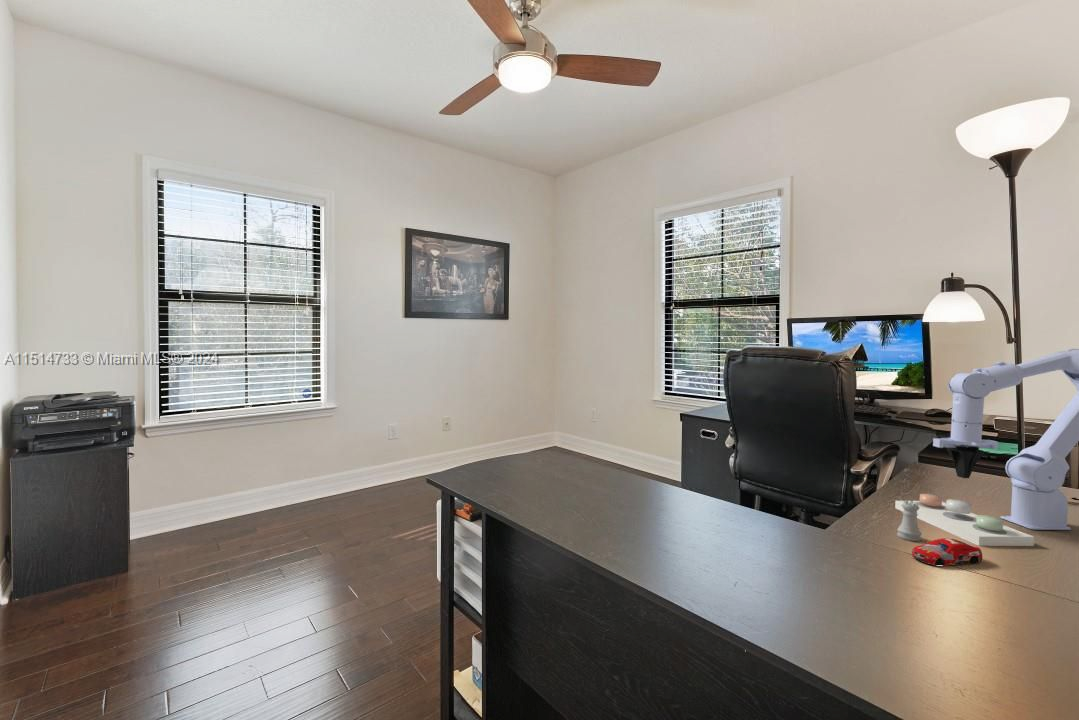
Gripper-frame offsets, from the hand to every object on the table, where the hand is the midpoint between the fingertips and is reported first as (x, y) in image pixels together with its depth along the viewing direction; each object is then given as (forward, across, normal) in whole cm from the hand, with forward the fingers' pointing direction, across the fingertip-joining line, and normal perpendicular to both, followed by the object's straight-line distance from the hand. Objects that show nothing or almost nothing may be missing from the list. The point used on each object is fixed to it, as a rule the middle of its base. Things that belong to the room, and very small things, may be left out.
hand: (963, 477), depth 121 cm
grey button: (+7, -4, -4) cm, 9 cm away
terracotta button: (+8, -4, +4) cm, 10 cm away
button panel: (+10, -4, -4) cm, 12 cm away
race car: (+11, -23, -23) cm, 35 cm away
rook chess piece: (+11, -22, -12) cm, 28 cm away
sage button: (+8, -4, -12) cm, 15 cm away
